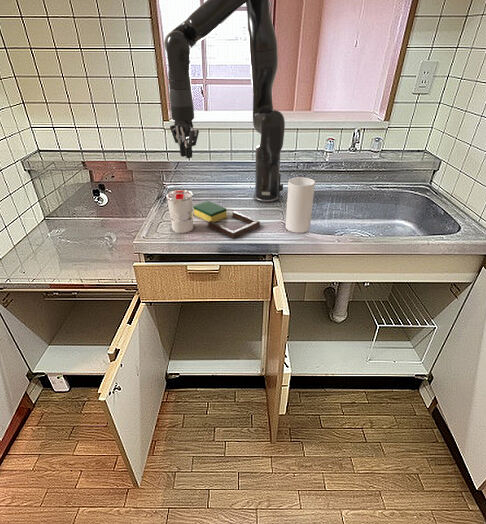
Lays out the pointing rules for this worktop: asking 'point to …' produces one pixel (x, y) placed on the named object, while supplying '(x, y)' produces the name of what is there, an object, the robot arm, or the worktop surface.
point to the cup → (299, 204)
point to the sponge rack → (234, 234)
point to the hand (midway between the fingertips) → (186, 156)
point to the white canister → (180, 210)
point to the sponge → (210, 211)
